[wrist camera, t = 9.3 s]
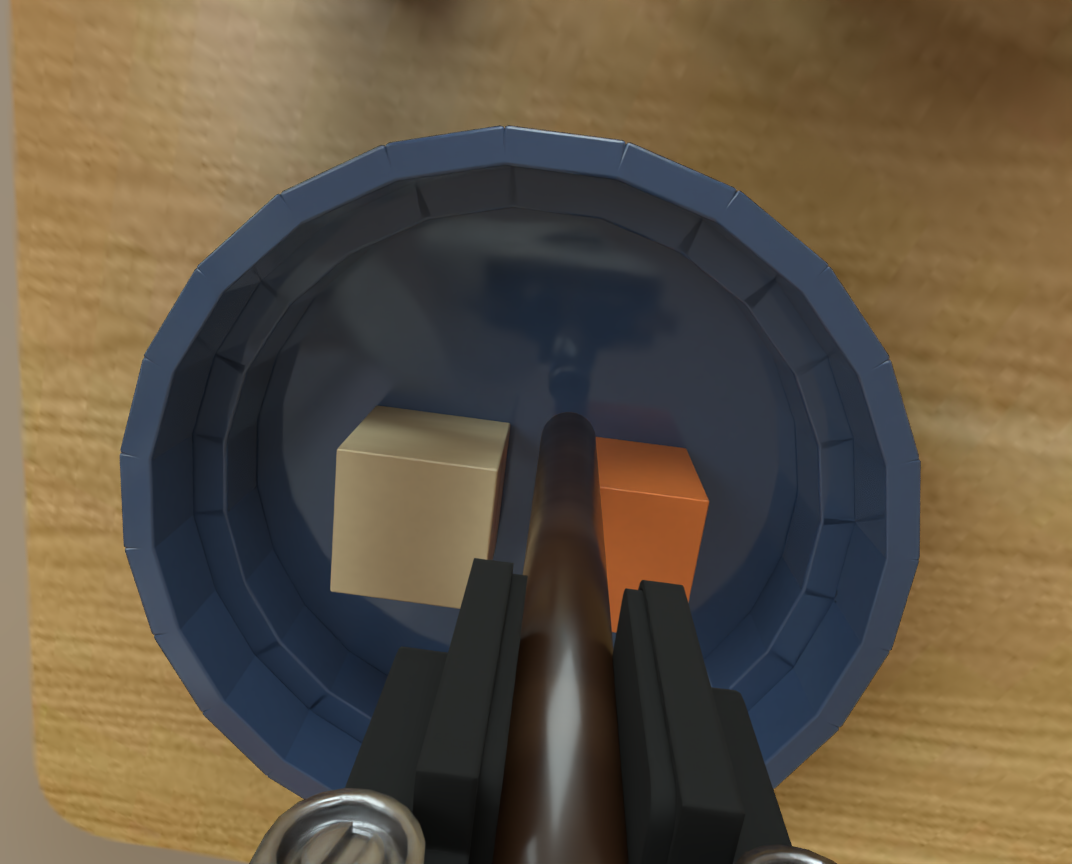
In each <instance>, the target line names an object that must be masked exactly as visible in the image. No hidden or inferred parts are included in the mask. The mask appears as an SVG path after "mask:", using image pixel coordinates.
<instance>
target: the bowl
mask: <svg viewBox="0 0 1072 864" xmlns="http://www.w3.org/2000/svg"><path fill="white" fill-rule="evenodd" d="M376 406H385V407H393V408H400V409H408V410H415V411H423V412H431V413H438V414H446V415H453V416H461V417H468V418H476V419H483V420H491V421H498V422H506V423H510V433H509V441H508V449H507V458H506V466H505V474H504V483H503V491H502V500H501V508H500V516H499V525H498V533H497V541H496V547H495V552H494V556H493V560H494V561H502V562H509V563H514V564H513V574H520V575H523V568H524V561H525V553H526V546H527V539H528V531H529V524H530V516H531V509H532V501H533V494H534V486H535V479H536V472H537V464H538V457H539V449H540V442H541V435H542V431H543V428H544V426H545V424H546V423H547V422H548V421H549V420H550V419H551V418H552V417H553V416H555V415H557V414H560V413H564V412H573V413H577V414H580V415H582V416H583V417H585V418H586V419H587V420H588V421H589V422H590V423H591V425H592V426H593V429H594V431H595V435H596V437H602V438H610V439H618V440H625V441H633V442H641V443H649V444H656V445H664V446H672V447H680V448H686V449H687V452H688V454H689V456H690V458H691V461H692V463H693V465H694V468H695V470H696V472H697V474H698V477H699V479H700V481H701V484H702V486H703V488H704V490H705V493H706V495H707V497H708V500H709V506H708V511H707V516H706V520H705V525H704V530H703V535H702V540H701V545H700V549H699V554H698V559H697V564H696V569H695V574H694V578H693V583H692V588H691V593H690V598H689V603H688V604H689V608H690V611H691V615H692V619H693V622H694V626H695V630H696V633H697V637H698V641H699V644H700V648H701V652H702V655H703V659H704V663H705V667H706V670H707V674H708V678H709V681H710V685H711V687H715V688H722V689H730V690H736V691H738V692H739V693H741V695H742V697H743V700H744V702H745V705H746V708H747V711H748V714H749V717H750V720H751V723H752V726H753V729H754V732H755V735H756V738H757V741H758V744H759V748H760V751H761V754H762V757H763V760H764V763H765V766H766V769H767V772H768V775H769V778H770V781H771V784H772V787H773V789H775V788H776V787H777V786H778V785H779V784H780V783H781V782H783V781H784V780H785V779H786V778H787V777H788V776H789V775H790V774H791V773H792V772H793V771H795V770H796V769H797V768H798V767H799V766H800V765H801V764H802V763H803V762H804V761H806V760H807V759H808V758H809V757H810V756H811V755H812V754H813V753H814V752H815V751H816V750H818V749H819V748H820V747H821V746H822V745H823V744H824V743H825V742H826V741H827V740H828V739H830V738H831V737H832V736H833V735H834V734H835V733H836V732H837V731H838V730H839V727H841V726H842V725H843V724H844V722H845V721H846V719H847V717H848V716H849V714H850V713H851V711H852V710H853V708H854V707H855V705H856V704H857V702H858V700H859V699H860V697H861V696H862V694H863V693H864V691H865V690H866V688H867V687H868V685H869V684H870V682H871V680H872V679H873V677H874V676H875V674H876V673H877V671H878V670H879V668H880V667H881V665H882V663H883V662H884V660H885V659H886V657H887V656H888V654H889V650H892V647H893V644H894V640H895V637H896V634H897V631H898V627H899V624H900V621H901V618H902V615H903V611H904V608H905V605H906V602H907V598H908V595H909V592H910V589H911V585H912V582H913V579H914V576H915V573H916V569H917V566H918V563H919V558H920V471H921V461H920V460H919V454H918V450H917V447H916V444H915V440H914V437H913V434H912V430H911V427H910V423H909V420H908V417H907V413H906V410H905V406H904V403H903V400H902V396H901V393H900V389H899V386H898V383H897V379H896V376H895V372H894V369H893V366H892V362H891V361H890V360H889V355H888V353H887V352H886V350H885V349H884V347H883V346H882V344H881V343H880V341H879V340H878V338H877V337H876V335H875V334H874V332H873V331H872V329H871V328H870V326H869V325H868V323H867V321H866V320H865V318H864V317H863V315H862V314H861V312H860V311H859V309H858V308H857V306H856V305H855V303H854V302H853V300H852V299H851V297H850V296H849V294H848V293H847V291H846V290H845V288H844V287H843V285H842V284H841V282H840V281H839V279H838V278H837V276H836V275H835V273H834V271H833V270H832V268H831V267H829V266H828V264H827V263H826V262H825V261H824V260H823V259H822V258H820V257H819V256H818V255H817V254H816V253H814V252H813V251H812V250H811V249H810V248H808V247H807V246H806V245H805V244H804V243H802V242H801V241H800V240H799V239H798V238H796V237H795V236H794V235H793V234H792V233H791V232H789V231H788V230H787V229H786V228H785V227H783V226H782V225H781V224H780V223H779V222H777V221H776V220H775V219H774V218H773V217H771V216H770V215H769V214H768V213H767V212H765V211H764V210H763V209H762V208H761V207H759V206H758V205H757V204H756V203H755V202H753V201H752V200H751V199H750V198H749V197H747V196H746V195H745V194H744V193H743V192H741V191H738V190H736V189H735V188H734V187H732V186H730V185H727V184H725V183H723V182H720V181H718V180H716V179H713V178H711V177H709V176H707V175H704V174H702V173H700V172H697V171H695V170H693V169H691V168H688V167H686V166H684V165H681V164H679V163H677V162H674V161H672V160H670V159H668V158H665V157H663V156H661V155H658V154H656V153H654V152H651V151H649V150H647V149H645V148H642V147H640V146H638V145H635V144H633V143H625V141H623V140H618V139H610V138H602V137H595V136H587V135H579V134H571V133H564V132H556V131H548V130H541V129H533V128H525V127H518V126H510V125H508V126H505V128H504V127H503V126H493V127H487V128H480V129H474V130H467V131H461V132H454V133H448V134H441V135H435V136H428V137H422V138H415V139H409V140H402V141H396V142H389V143H388V144H386V145H380V146H377V147H375V148H373V149H371V150H369V151H367V152H365V153H363V154H360V155H358V156H356V157H354V158H352V159H350V160H348V161H346V162H343V163H341V164H339V165H337V166H335V167H333V168H331V169H329V170H326V171H324V172H322V173H320V174H318V175H316V176H314V177H312V178H309V179H307V180H305V181H303V182H301V183H299V184H297V185H295V186H292V187H290V188H288V189H286V190H284V191H282V193H281V194H277V195H275V196H274V197H273V198H272V199H271V200H270V201H269V202H268V203H267V204H265V205H264V206H263V207H262V208H261V209H260V210H259V211H258V212H257V213H255V214H254V215H253V216H252V217H251V218H250V219H249V220H248V221H247V222H245V223H244V224H243V225H242V226H241V227H240V228H239V229H238V230H237V231H235V232H234V233H233V234H232V235H231V236H230V237H229V238H228V239H227V240H225V241H224V242H223V243H222V244H221V245H220V246H219V247H218V248H217V249H216V250H214V251H213V252H212V253H211V254H210V255H209V256H208V257H207V258H206V259H204V260H203V261H202V262H201V263H200V264H199V265H198V266H197V268H196V269H195V270H194V272H193V274H192V275H191V277H190V279H189V280H188V282H187V284H186V285H185V287H184V289H183V291H182V292H181V294H180V296H179V297H178V299H177V301H176V302H175V304H174V306H173V307H172V309H171V311H170V312H169V314H168V316H167V317H166V319H165V321H164V322H163V324H162V326H161V327H160V329H159V331H158V332H157V334H156V336H155V337H154V339H153V341H152V342H151V344H150V346H149V347H148V349H147V351H146V352H145V354H144V359H143V360H142V364H141V369H140V373H139V377H138V381H137V385H136V389H135V393H134V397H133V401H132V405H131V409H130V413H129V417H128V421H127V425H126V429H125V434H124V438H123V442H122V446H121V452H122V453H121V454H120V474H121V496H122V517H123V539H124V547H126V548H125V552H126V555H127V558H128V561H129V565H130V568H131V571H132V574H133V577H134V580H135V583H136V586H137V589H138V592H139V595H140V598H141V601H142V604H143V607H144V610H145V613H146V616H147V619H148V622H149V625H150V629H151V632H152V634H153V635H155V636H154V638H155V640H156V642H157V643H158V645H159V646H160V648H161V649H162V651H163V653H164V654H165V656H166V657H167V659H168V660H169V662H170V664H171V665H172V667H173V668H174V670H175V671H176V673H177V674H178V676H179V678H180V679H181V681H182V682H183V684H184V685H185V687H186V689H187V690H188V692H189V693H190V695H191V696H192V698H193V700H194V701H195V703H196V704H197V706H198V707H199V709H200V710H201V711H202V712H203V715H204V716H205V717H206V718H207V719H208V720H209V721H210V722H211V723H212V724H213V725H214V726H215V727H216V728H218V729H219V730H220V731H221V732H222V733H223V734H224V735H225V736H226V737H227V738H228V739H229V740H230V741H231V742H232V743H233V744H234V745H235V746H236V747H237V748H238V749H239V750H240V751H241V752H242V753H243V754H244V755H245V756H246V757H248V758H249V759H250V760H251V761H252V762H253V763H254V764H255V765H256V766H257V767H258V768H259V769H260V770H261V771H262V772H263V773H264V774H265V775H268V777H269V778H270V779H272V780H274V781H275V782H277V783H279V784H280V785H282V786H283V787H285V788H287V789H288V790H290V791H292V792H293V793H295V794H296V795H298V796H300V797H301V798H303V799H307V798H309V797H311V796H314V795H316V794H318V793H321V792H325V791H331V790H337V789H342V788H345V786H346V783H347V781H348V778H349V776H350V773H351V770H352V768H353V765H354V763H355V760H356V757H357V755H358V752H359V750H360V747H361V744H362V742H363V739H364V737H365V734H366V731H367V729H368V726H369V723H370V721H371V718H372V716H373V713H374V710H375V708H376V705H377V703H378V700H379V697H380V695H381V692H382V690H383V687H384V684H385V682H386V679H387V677H388V674H389V671H390V669H391V666H392V664H393V661H394V658H395V656H396V654H397V652H398V649H399V648H400V647H410V648H417V649H425V650H433V651H440V652H448V651H449V647H450V644H451V640H452V636H453V633H454V629H455V625H456V622H457V618H458V615H459V611H460V609H457V608H450V607H442V606H435V605H427V604H420V603H412V602H405V601H398V600H390V599H383V598H375V597H368V596H360V595H353V594H345V593H338V592H332V591H331V590H330V584H331V563H332V541H333V520H334V498H335V477H336V455H337V449H338V447H339V446H340V445H341V444H342V443H343V442H344V441H345V440H346V439H347V438H348V436H349V435H350V434H351V433H352V432H353V431H354V430H355V429H356V428H357V427H358V425H359V424H360V423H361V422H362V421H363V420H364V419H365V418H366V417H367V416H368V414H369V413H370V412H371V411H372V410H373V409H374V408H375V407H376ZM615 638H616V633H615V632H612V640H613V649H614V643H615Z"/></svg>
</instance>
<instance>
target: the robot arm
mask: <svg viewBox="0 0 1072 864" xmlns="http://www.w3.org/2000/svg"><path fill="white" fill-rule="evenodd" d="M513 564H514V563H509V562H502V561H494V560H486V559H479V558H474V560H473V563H472V567H471V571H470V574H469V578H468V582H467V585H466V589H465V593H464V596H463V600H462V604H461V607H460V611H459V615H458V618H457V622H456V625H455V629H454V633H453V636H452V640H451V644H450V647H449V651H448V652H440V651H433V650H425V649H417V648H410V647H400V648H399V649H398V652H397V654H396V656H395V658H394V661H393V664H392V666H391V669H390V671H389V674H388V677H387V679H386V682H385V684H384V687H383V690H382V692H381V695H380V697H379V700H378V703H377V705H376V708H375V710H374V713H373V716H372V718H371V721H370V723H369V726H368V729H367V731H366V734H365V737H364V739H363V742H362V744H361V747H360V750H359V752H358V755H357V757H356V760H355V763H354V765H353V768H352V770H351V773H350V776H349V778H348V781H347V783H346V786H345V788H342V789H337V790H331V791H325V792H321V793H318V794H316V795H314V796H311V797H309V798H307V799H304V800H302V801H300V802H298V803H296V804H295V805H294V806H292V807H291V808H290V809H288V810H287V811H286V812H285V813H283V814H282V815H281V816H279V817H278V819H277V820H276V821H275V823H274V824H273V825H272V826H271V828H270V829H269V830H268V832H267V833H266V834H265V836H264V837H263V839H262V841H261V843H260V845H259V847H258V848H257V850H256V852H255V854H254V856H253V858H252V859H251V861H250V863H249V864H492V860H493V852H494V845H495V837H496V829H497V822H498V814H499V806H500V798H501V790H502V782H503V775H504V767H505V758H506V750H507V742H508V734H509V726H510V717H511V709H512V701H513V693H514V685H515V676H516V668H517V660H518V652H519V644H520V635H521V627H522V619H523V611H524V603H525V594H526V586H527V578H528V576H527V575H520V574H513ZM612 657H613V670H614V683H615V696H616V708H617V721H618V734H619V746H620V759H621V772H622V785H623V797H624V810H625V823H626V836H627V848H628V861H629V864H837V863H835V862H834V861H832V860H830V859H828V858H826V857H823V856H821V855H819V854H817V853H814V852H812V851H810V850H807V849H802V848H798V847H793V846H792V845H791V842H790V839H789V836H788V833H787V830H786V827H785V824H784V821H783V817H782V814H781V811H780V808H779V805H778V802H777V799H776V796H775V793H774V790H773V787H772V784H771V781H770V778H769V775H768V772H767V769H766V766H765V763H764V760H763V757H762V754H761V751H760V748H759V744H758V741H757V738H756V735H755V732H754V729H753V726H752V723H751V720H750V717H749V714H748V711H747V708H746V705H745V702H744V700H743V697H742V695H741V693H739V692H738V691H736V690H730V689H722V688H715V687H711V685H710V681H709V678H708V674H707V670H706V667H705V663H704V659H703V655H702V652H701V648H700V644H699V641H698V637H697V633H696V630H695V626H694V622H693V619H692V615H691V611H690V608H689V604H688V600H687V596H686V593H685V589H684V587H683V585H679V584H671V583H663V582H656V581H648V580H641V582H640V585H639V588H638V590H635V589H628V588H625V590H624V593H623V598H622V603H621V609H620V615H619V620H618V626H617V632H616V638H615V643H614V649H613V655H612Z"/></svg>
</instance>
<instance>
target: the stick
mask: <svg viewBox="0 0 1072 864" xmlns="http://www.w3.org/2000/svg"><path fill="white" fill-rule="evenodd" d="M523 575H527V576H528V578H527V586H526V594H525V603H524V611H523V619H522V627H521V635H520V644H519V652H518V660H517V668H516V676H515V685H514V693H513V701H512V709H511V717H510V726H509V734H508V742H507V750H506V758H505V767H504V775H503V782H502V790H501V798H500V806H499V814H498V822H497V829H496V837H495V845H494V852H493V860H492V864H629V861H628V848H627V836H626V823H625V810H624V797H623V785H622V772H621V759H620V746H619V734H618V721H617V708H616V696H615V683H614V670H613V657H612V655H613V640H612V627H611V615H610V603H609V591H608V579H607V567H606V555H605V543H604V531H603V519H602V507H601V495H600V483H599V471H598V459H597V447H596V435H595V431H594V429H593V426H592V425H591V423H590V422H589V421H588V420H587V419H586V418H585V417H583V416H582V415H580V414H577V413H573V412H564V413H560V414H557V415H555V416H553V417H552V418H551V419H550V420H549V421H548V422H547V423H546V424H545V426H544V428H543V431H542V435H541V442H540V449H539V457H538V464H537V472H536V479H535V486H534V494H533V501H532V509H531V516H530V524H529V531H528V539H527V546H526V553H525V561H524V568H523Z"/></svg>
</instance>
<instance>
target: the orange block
mask: <svg viewBox="0 0 1072 864" xmlns="http://www.w3.org/2000/svg"><path fill="white" fill-rule="evenodd" d="M596 447H597V459H598V471H599V483H600V495H601V507H602V519H603V531H604V543H605V555H606V567H607V579H608V591H609V603H610V615H611V627H612V632H615V633H616V632H617V626H618V620H619V615H620V609H621V603H622V598H623V593H624V590H625V588H628V589H635V590H638V588H639V585H640V582H641V580H648V581H656V582H663V583H671V584H679V585H683V587H684V589H685V593H686V596H687V600H688V603H689V598H690V593H691V588H692V583H693V578H694V574H695V569H696V564H697V559H698V554H699V549H700V545H701V540H702V535H703V530H704V525H705V520H706V516H707V511H708V506H709V500H708V497H707V495H706V493H705V490H704V488H703V486H702V484H701V481H700V479H699V477H698V474H697V472H696V470H695V468H694V465H693V463H692V461H691V458H690V456H689V454H688V452H687V449H686V448H680V447H672V446H664V445H656V444H649V443H641V442H633V441H625V440H618V439H610V438H602V437H596Z"/></svg>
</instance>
